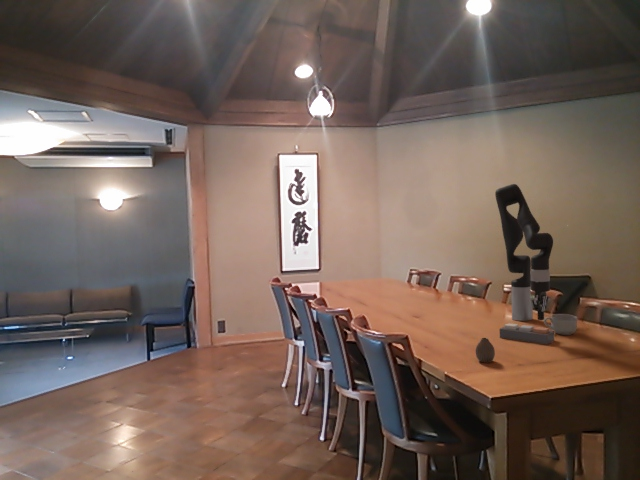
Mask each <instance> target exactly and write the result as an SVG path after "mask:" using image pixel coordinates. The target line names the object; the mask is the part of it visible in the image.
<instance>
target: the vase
mask: <svg viewBox="0 0 640 480" xmlns="http://www.w3.org/2000/svg"><path fill="white" fill-rule="evenodd" d="M475 356H476V358H477V360H478V361H479V362H481V363H485V364H489V363H491V362H492V361H493V360H494V359H495V357H496V351H495V347H494V345H493V344H492V342H491V341H490V340H489V338H488V337H482V338H480V341H479V342H478V343H477V345H476V346H475Z"/></svg>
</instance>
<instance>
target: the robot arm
mask: <svg viewBox="0 0 640 480" xmlns="http://www.w3.org/2000/svg"><path fill="white" fill-rule="evenodd" d="M495 199H496V201H495V202H496V204H497V209H498V212H499V215H500V222H501V229H502V236H503V241H504V244H505V251H506V262H507V269H508V271H509V272H510V273H511V274H523V275H521V276H520V277H518V278H515V279H513V280H511V283H510V286H511V287H510V288H511V319H512V320H514V321H519V322H522V321H523V322H528V321H531V320H533V319H534V317H533V315H534V314H533V313H534V311H533V310H535V311H536V312H537V320H538V321H544V319H545V311H546V310H547V306H548V302H549V299H550V298H549V296H547V292H550V291H551V273H550V256H551V253H552V251H553V250H552V249H553V246H554V239H553V236H552V235H551V234H550V233H548V232H540V231H541V226H540V224H539V222H538V221H537V219H536V218H535V217H534V214H532V212H531V210H530V207H529V205H528V203H527V200H526V198H525V196H524V194H523V192H522V190H521V188H520V186H519V185H518V184H515V183H512V184H509V185H505V186H503V187H499V188H498V189H496V190H495ZM515 204H518V211H517V217H515V216H514V215H512V214H511V213H510V212H509V211H508V209H507V208H508V207H509V206H511V205H515ZM523 239H525V240H524V241H525V245H526V247H527V248H528V249H530V250H532V251H537V250H540V251H539V253H537V254H534V255H532V256H531V257H530V256H529V255H522V254H521V255H519V254H518V255H515V252H516V249H517V248H518V246H519V245H520V244H521V242H522V241H523ZM532 292H534V296H533V299H532V298H531V297H532V296H531V295H532V294H531V293H532ZM533 308H534V309H533Z"/></svg>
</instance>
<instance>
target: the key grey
mask: <svg viewBox="0 0 640 480" xmlns="http://www.w3.org/2000/svg"><path fill="white" fill-rule="evenodd" d="M534 329H535V327H534V325H527V324H526V325H525V324H522V325H521V326H519V331H526V332H531V331H533V330H534Z"/></svg>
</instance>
